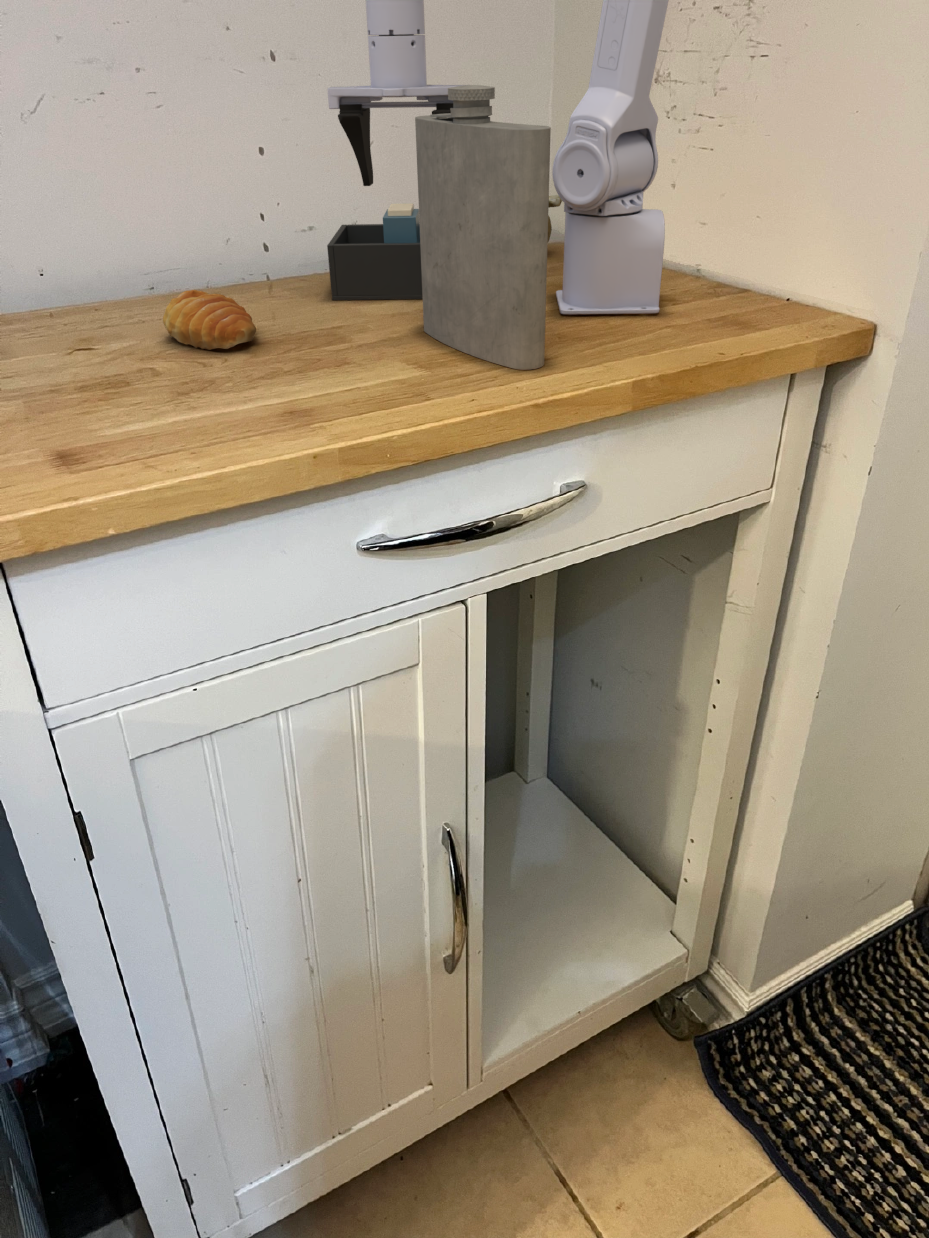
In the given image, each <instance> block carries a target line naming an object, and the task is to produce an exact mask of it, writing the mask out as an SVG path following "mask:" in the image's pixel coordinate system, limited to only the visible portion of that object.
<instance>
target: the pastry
mask: <svg viewBox="0 0 929 1238" xmlns="http://www.w3.org/2000/svg"><path fill="white" fill-rule="evenodd" d="M162 323H163V326H164V328H165V330H166V331H167V333H168V334H169V336H170V338H171V339H172V338H174V339H175V340H176V341H177V342H179V343H181V344H183V345H190V346H193V347H194V348H195V349H197V348H200V349H201V350H204V349H205V350H209V351H212V350H215V349H224V350H228V349H230V348H233V347H235V346H236V345H239V344H243V343H247V342H250V343H252V342H253V341H254V338H255V335H256V333H257V327H256V325H255V323H254V322H253V318H252V316H251V315H250V313H249V312H247V310H246V309H245V307H244V306H242V305H240V304H238V302H237V301H235V299H234V298H233V297H227V296H226V295H224V294H221V293H209V292H207V291H203V290H197V289H191V290H185V291H183V292H181V293H180V294H178V295H177V297H173V298H171V299H170V302H169V303H168V304H167V305H166V307H165V310H164V313H163V316H162Z"/></svg>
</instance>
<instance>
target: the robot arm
mask: <svg viewBox="0 0 929 1238" xmlns="http://www.w3.org/2000/svg"><path fill="white" fill-rule="evenodd" d="M669 1H670V0H602V5H601V11H600V17H599V24H598V29H597V35H596V41H595V47H594V52H593V58H592V64H591V71H590V77H589V82H588V88H587V90H586V92H585V94H584V95H583V97H582V98H581V99H580V101H579V103H577V105H576V107H575V108H574V110H573V111H572V113H571V114H570V117H569V122H568V128H567V132H566V135H565V137H564V140H563V142H562V143H561V145H560V146H559V147H558V149H557V151H556V154H555V156H554V159H553V163H552V172H551V173H552V183H553V186H554V189H555V191H556V193H557V195H559V197H560V198H561V200H562V203H563V212H564V214H565V215H564V241H563V243H564V244H563V267H562V289H559V290H558V289H557V290H556V291H555V297H556V301H557V306H558V309H559V313H560V314H561V315H565V316H567V315H635V314H636V315H638V314H640V315H641V314H644V315H645V314H648V315H650V314H651V315H652V314H659V313H660V297H661V284H662V275H663V274H662V273H663V263H664V255H665V253H664V252H665V240H666V239H665V237H666V225H665V224H666V223H665V221H666V220H665V215H664V212H663V210H662V209H656V208H654V209H653V208H651V209H649V208H644V207H643V206H644V193H645V192H646V190H648V189H649V187H650V186H651V185H652V183H653V181H654V180H655V178H656V175H657V172H658V168H659V154H658V153H659V152H658V148H657V141H656V135H657V128H658V122H659V117H658V113H657V112H656V109H655V107H654V104H653V103H652V101H651V97H650V93H651V89H652V83H653V79H654V74H655V69H656V64H657V60H658V55H659V49H660V45H661V39H662V35H663V30H664V25H665V21H666V15H667V10H668V5H669ZM365 11H366V12H365V13H366V14H365V15H366V29H367V46H368V47H367V48H368V62H369V63H368V64H369V77H370V78H369V79H370V80H369V81H370V85H350V86H349V85H347V86H330V87H327V90H326V91H327V100H328V101H327V103H328V109H329V110H338V112H339V113H338V114H337V119H338V121H339V124H340V126H341V127H342V129H343V131H344V133H345V135H346V137H347V140H348V142H349V143H350V146H351V148H352V150H353V153H354V156H355V159H356V161H357V165H358V168H359V173H360V176H361V180H362V186H363V187H371V186H372V185H373V184H374V168H373V159H372V151H371V109H390V108H393V109H397V108H400V109H401V108H403V109H404V108H405V109H406V108H407V109H408V108H435V109H433V110H431V115H433V114H445V113H447V114H448V113H451V111H450V108H453V100H448V88H451V87H457V86H464V85H465V84H428V82H427V55H426V53H427V52H426V35H425V34H426V26H425V23H426V22H425V0H365ZM413 97H414V98H416V101H382V100H383V98H413Z"/></svg>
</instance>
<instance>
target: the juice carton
mask: <svg viewBox="0 0 929 1238" xmlns="http://www.w3.org/2000/svg"><path fill="white" fill-rule="evenodd" d="M382 224H383V232H384V243H420V223H419V208H415V203H391V204H390V205H389V207H388V208H387V209H386V211H385V212H384V215H383V216H382Z"/></svg>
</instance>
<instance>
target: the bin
mask: <svg viewBox="0 0 929 1238" xmlns="http://www.w3.org/2000/svg"><path fill="white" fill-rule="evenodd" d="M326 247H327V257H328V259H327V260H328V269H329V280H330V292H331V293H330V294H331V301H373V300H374V301H376V300H377V301H381V300H383V301H384V300H423V296H422V271H421V247H420V243H384V232H383V223H369V224H368V223H361V224H359V223H358V224H354V223H353V224H341V225H340V227H339V228H338V230H337V231H336V232H335V234H334V235H333V236H332V238H331V239H330V241H329V242H328V244H327V245H326Z"/></svg>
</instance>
